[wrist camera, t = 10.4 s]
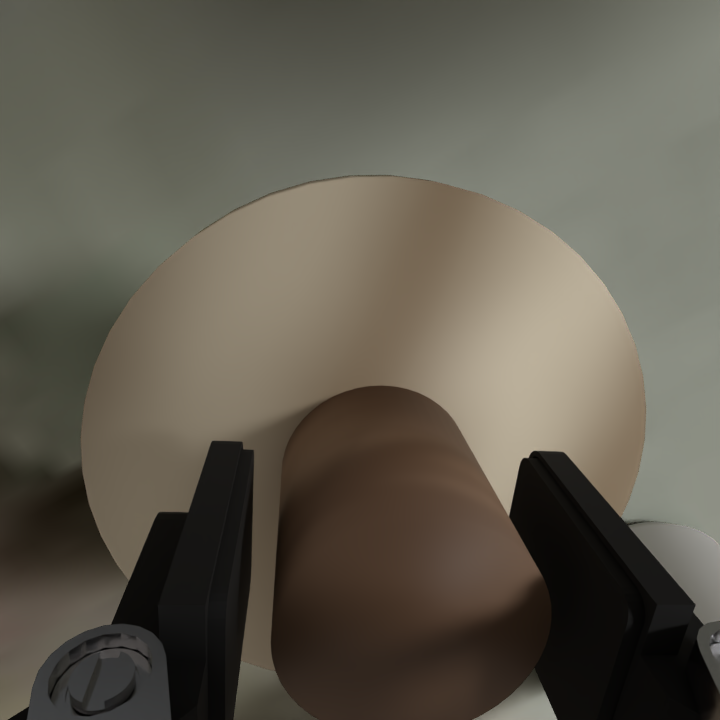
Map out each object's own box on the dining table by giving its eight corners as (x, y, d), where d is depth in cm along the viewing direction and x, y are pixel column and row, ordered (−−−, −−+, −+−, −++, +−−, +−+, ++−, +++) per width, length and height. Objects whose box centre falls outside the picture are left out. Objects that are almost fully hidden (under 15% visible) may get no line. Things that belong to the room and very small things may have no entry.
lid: (671, 191, 12) (968, 223, 7) (566, 633, 16) (695, 869, 11) (69, 155, 10) (-164, 161, 5) (125, 648, 15) (25, 927, 9)
